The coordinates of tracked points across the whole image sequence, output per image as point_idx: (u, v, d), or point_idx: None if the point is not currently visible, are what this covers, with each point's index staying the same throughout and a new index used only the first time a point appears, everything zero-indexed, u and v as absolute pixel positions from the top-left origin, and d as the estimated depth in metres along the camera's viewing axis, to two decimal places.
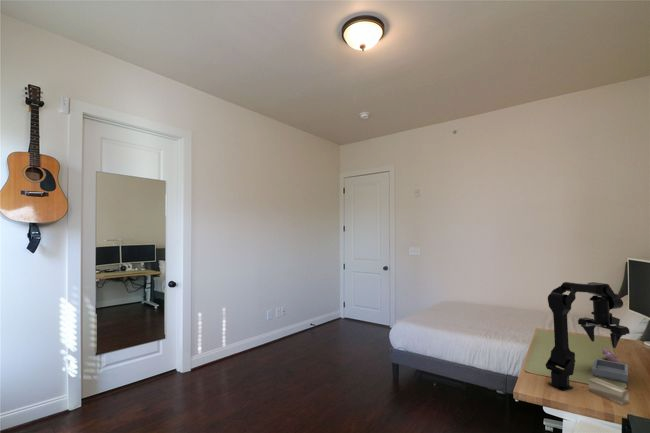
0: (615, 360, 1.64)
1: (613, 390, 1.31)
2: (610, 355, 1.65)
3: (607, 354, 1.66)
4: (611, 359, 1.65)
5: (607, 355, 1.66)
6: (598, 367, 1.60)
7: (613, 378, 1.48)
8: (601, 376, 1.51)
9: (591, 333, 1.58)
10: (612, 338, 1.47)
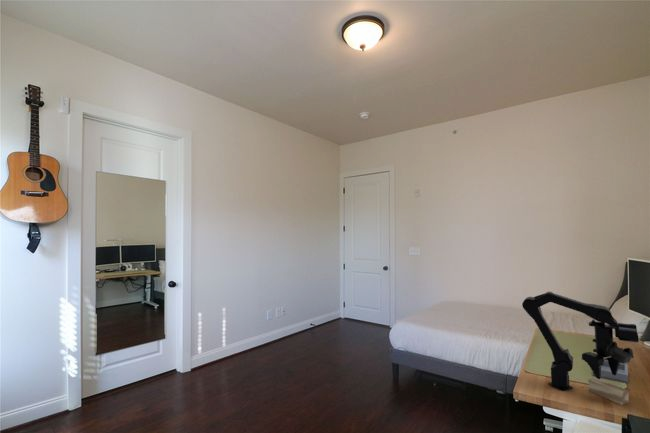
0: None
1: (613, 390, 1.31)
2: None
3: None
4: None
5: None
6: None
7: (613, 378, 1.48)
8: (601, 376, 1.51)
9: (613, 365, 1.37)
10: None
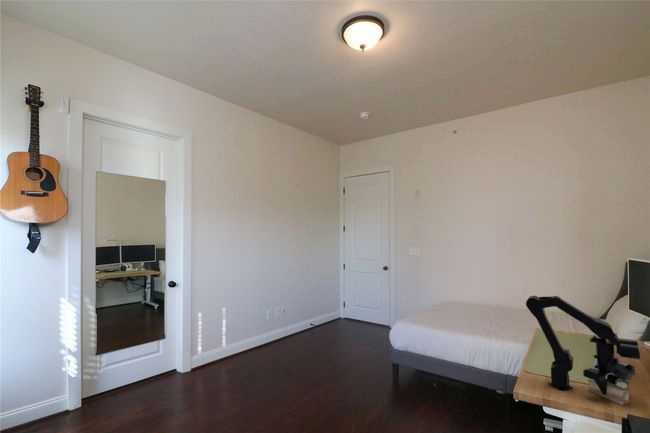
0: None
1: (613, 390, 1.31)
2: None
3: None
4: None
5: None
6: None
7: None
8: None
9: None
10: None
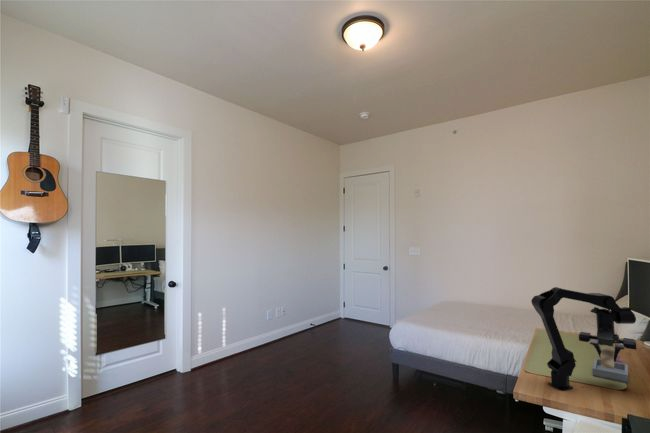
0: (619, 360, 1.63)
1: (600, 354, 1.42)
2: None
3: None
4: None
5: None
6: (598, 367, 1.60)
7: (613, 378, 1.48)
8: (601, 376, 1.51)
9: None
10: None
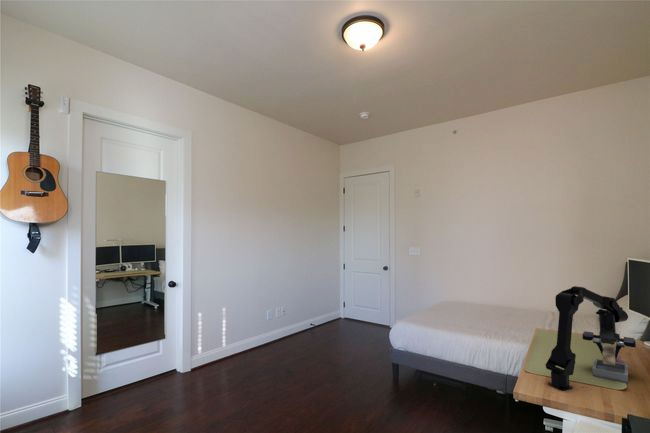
0: (620, 360, 1.63)
1: (603, 351, 1.54)
2: None
3: None
4: (616, 359, 1.64)
5: None
6: (598, 367, 1.60)
7: (613, 378, 1.48)
8: (601, 376, 1.51)
9: None
10: None
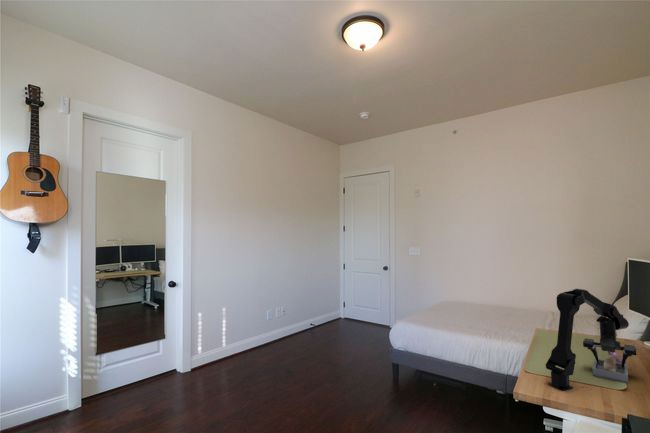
0: (621, 360, 1.63)
1: None
2: (616, 355, 1.64)
3: (613, 354, 1.65)
4: (617, 359, 1.64)
5: (613, 355, 1.65)
6: (598, 367, 1.60)
7: (613, 378, 1.48)
8: (601, 376, 1.51)
9: None
10: None
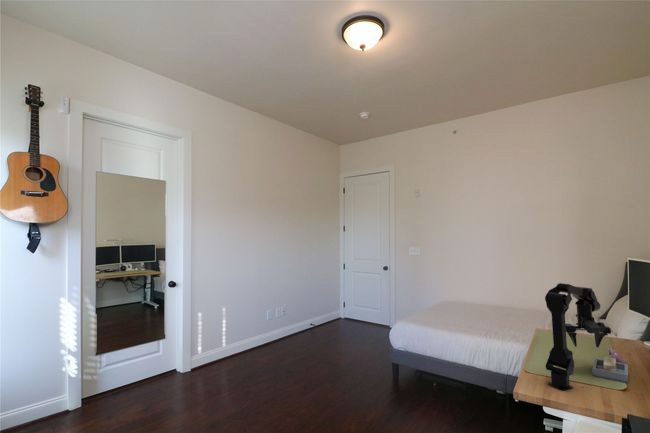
0: (622, 361, 1.63)
1: None
2: (617, 356, 1.64)
3: (614, 355, 1.65)
4: (618, 360, 1.64)
5: (614, 356, 1.65)
6: (598, 367, 1.60)
7: (613, 378, 1.48)
8: (601, 376, 1.51)
9: (597, 339, 1.58)
10: None
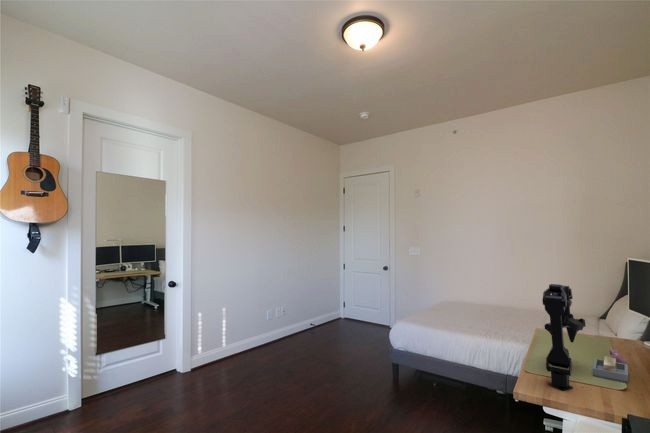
0: (623, 361, 1.63)
1: None
2: (618, 356, 1.64)
3: (615, 355, 1.65)
4: (619, 360, 1.63)
5: (615, 356, 1.65)
6: (598, 367, 1.60)
7: (613, 378, 1.48)
8: (601, 376, 1.51)
9: (571, 334, 1.64)
10: None
